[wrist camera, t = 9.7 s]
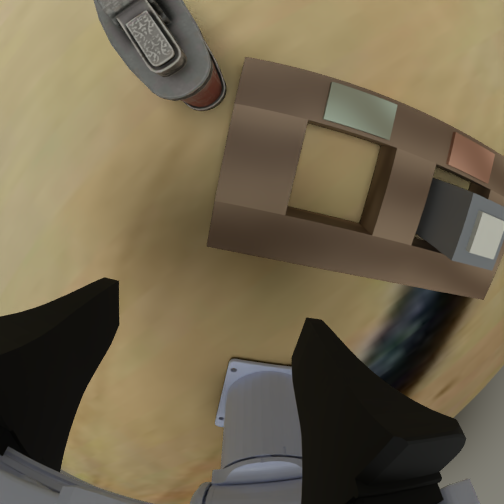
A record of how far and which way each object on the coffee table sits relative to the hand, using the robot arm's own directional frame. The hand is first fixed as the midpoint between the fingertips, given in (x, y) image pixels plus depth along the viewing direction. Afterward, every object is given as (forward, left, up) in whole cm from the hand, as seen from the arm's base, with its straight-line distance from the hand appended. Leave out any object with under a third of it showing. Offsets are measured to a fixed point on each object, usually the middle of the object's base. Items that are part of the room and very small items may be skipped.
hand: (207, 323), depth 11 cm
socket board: (+6, -10, -10) cm, 15 cm away
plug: (+5, -14, -10) cm, 18 cm away
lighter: (+11, +5, -10) cm, 16 cm away
